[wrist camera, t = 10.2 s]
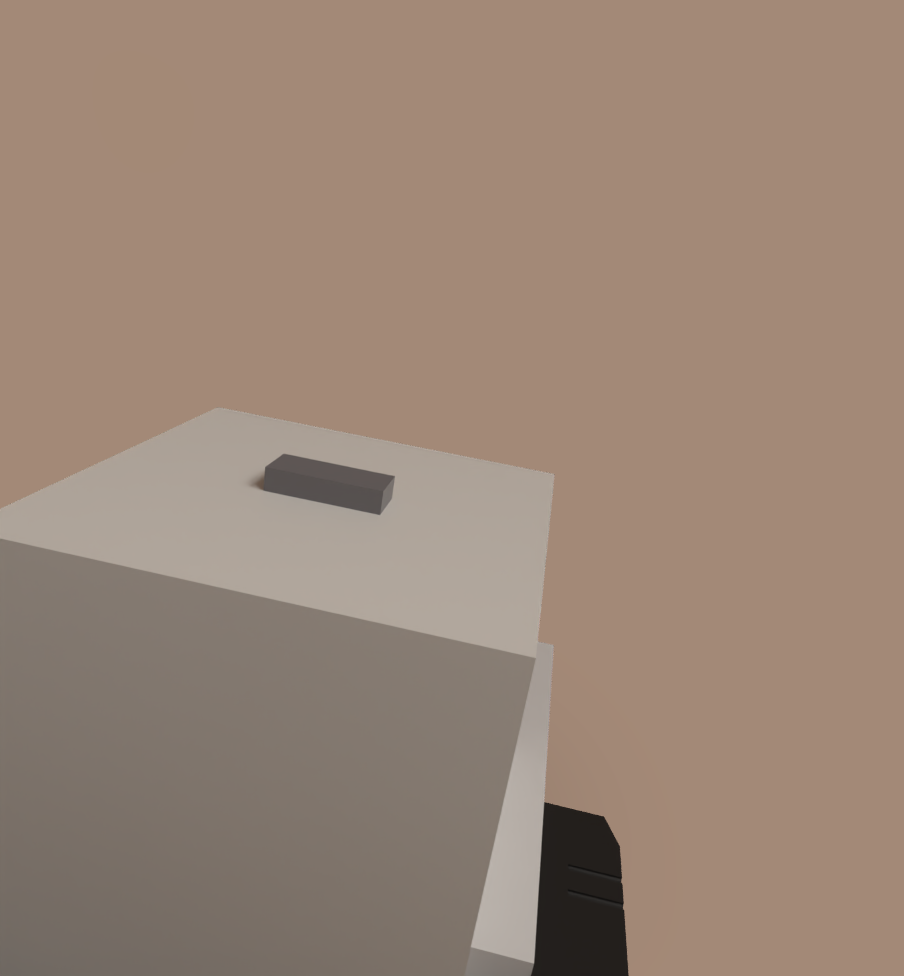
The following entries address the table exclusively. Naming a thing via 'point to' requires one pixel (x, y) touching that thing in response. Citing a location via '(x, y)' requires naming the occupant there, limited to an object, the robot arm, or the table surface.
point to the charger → (261, 702)
